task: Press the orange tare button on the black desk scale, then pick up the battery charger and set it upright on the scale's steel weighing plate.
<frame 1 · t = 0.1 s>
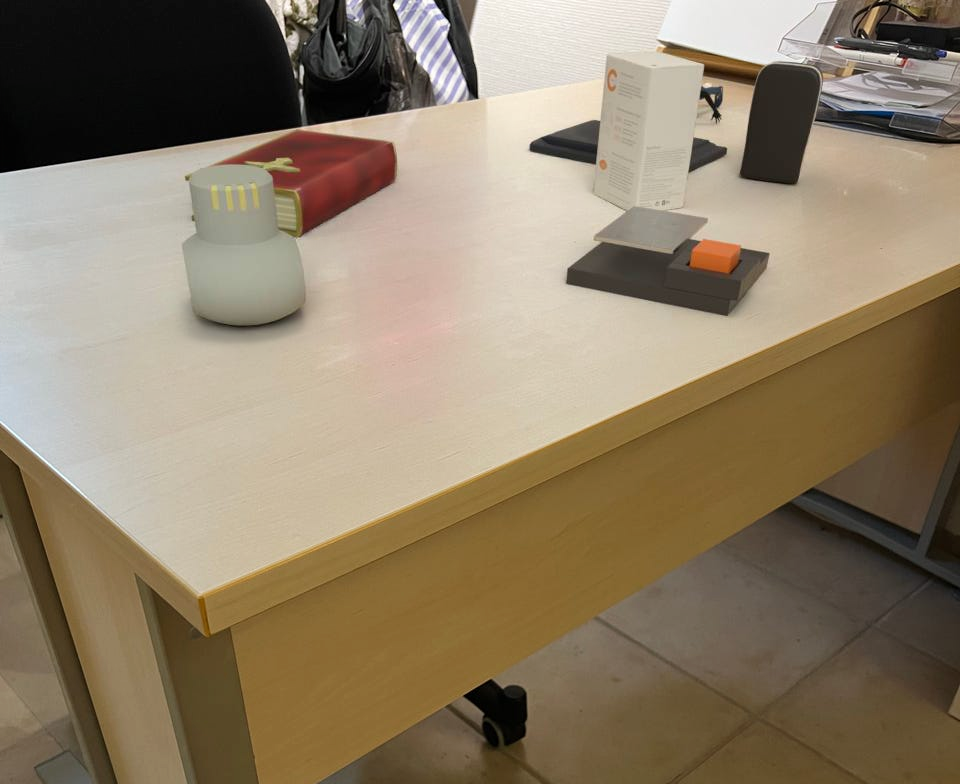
weighing plate: (652, 231, 82), resting on scale
hardcover book: (301, 201, 97), on the table
small box: (636, 203, 99), on the table
tare button: (715, 257, 76), point 3 cm above the table, slide at 0.1 cm
wallet: (627, 154, 115), on the table
battery charger: (769, 180, 108), on the table
air freshener: (249, 315, 73), on the table
scale: (668, 276, 82), on the table
person figurine: (686, 117, 131), on the table
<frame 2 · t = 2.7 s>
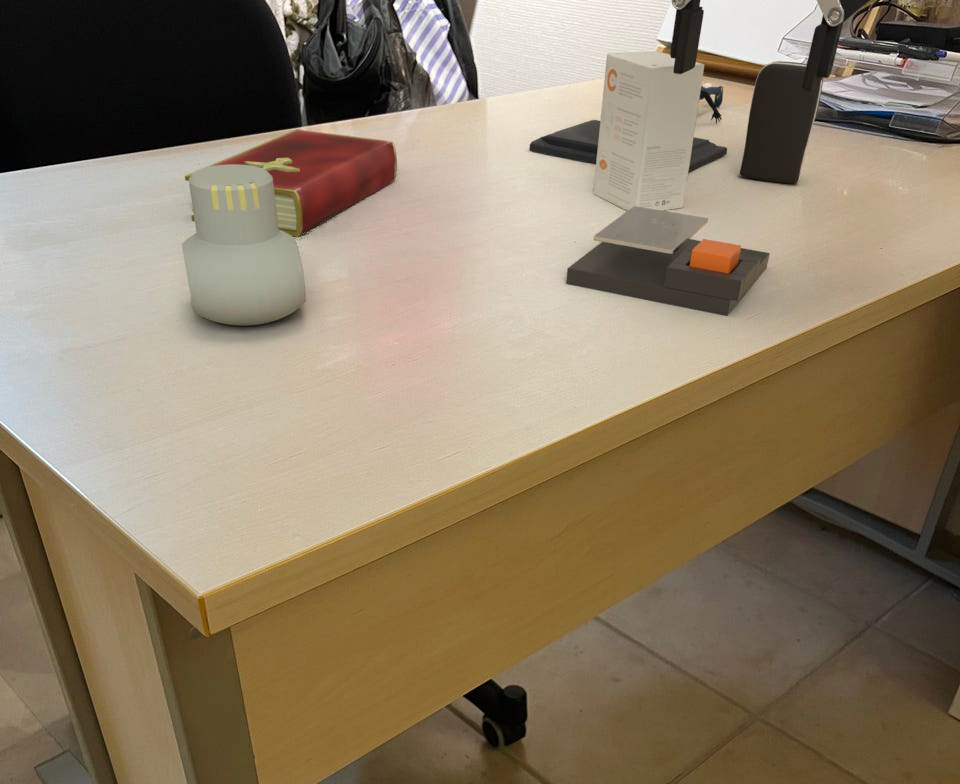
hand: (745, 79, 70), 16 cm above the table, tool pointing down, fingers open, 9 cm apart
nothing on the table moved.
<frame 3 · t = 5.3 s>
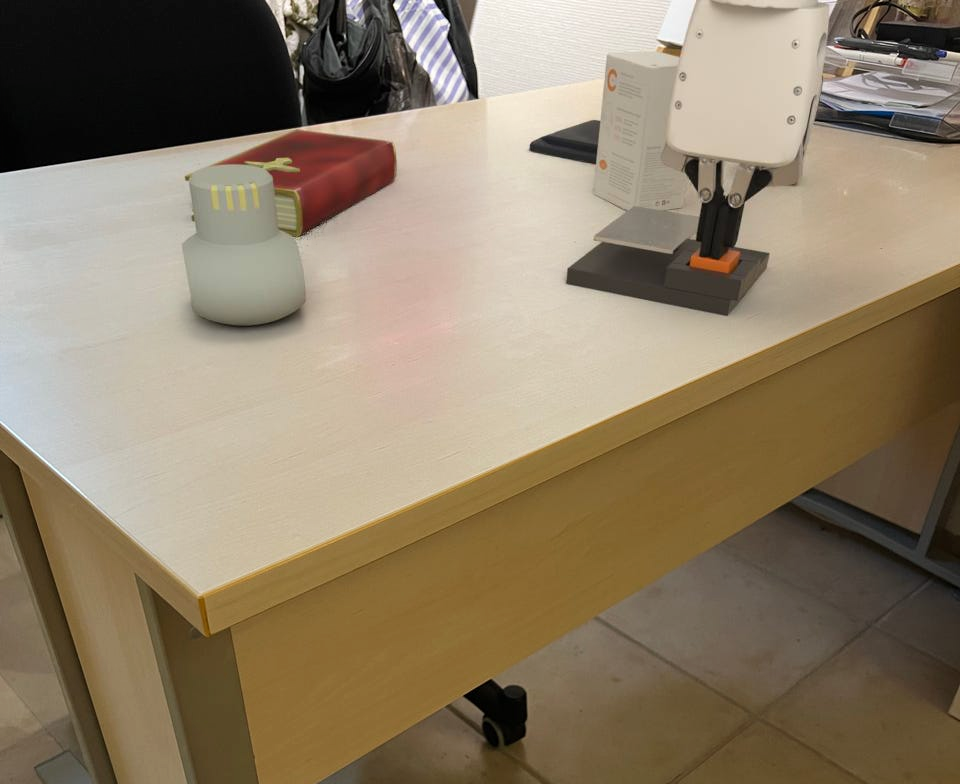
hand: (713, 253, 76), 4 cm above the table, tool pointing down, fingers closed
tare button: (714, 263, 76), point 3 cm above the table, slide at -0.4 cm, touching gripper
everything else where it was.
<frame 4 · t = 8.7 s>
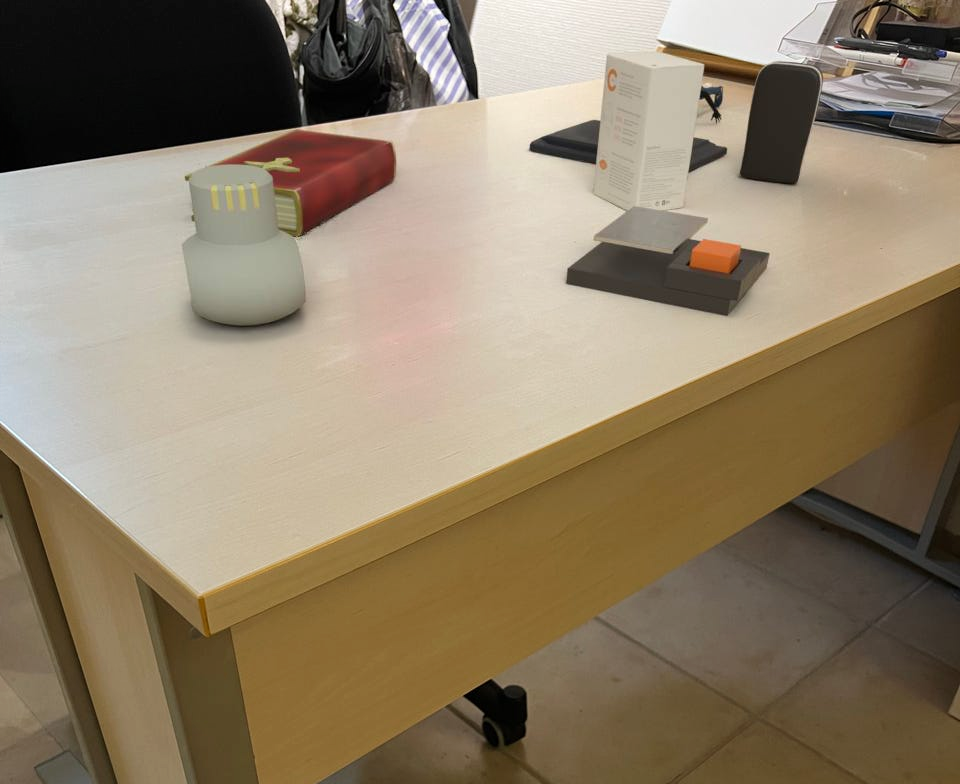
tare button: (715, 257, 76), point 3 cm above the table, slide at 0.1 cm
everything else where it was.
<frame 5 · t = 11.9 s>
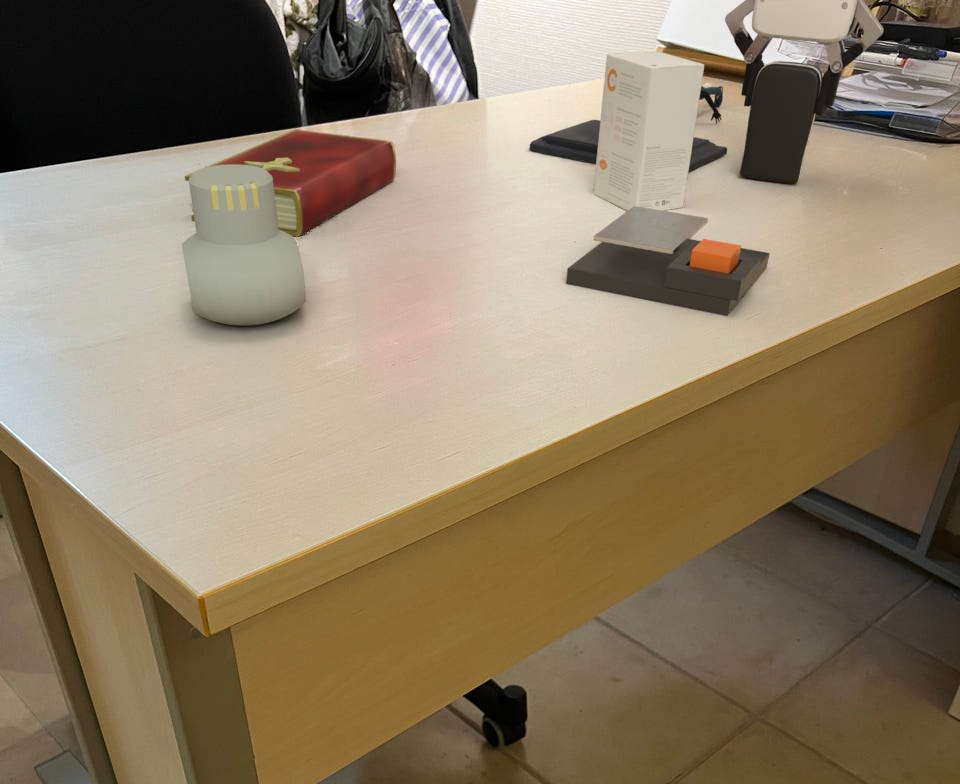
hand: (785, 107, 103), 7 cm above the table, tool pointing down, fingers closed on battery charger, 7 cm apart
battery charger: (769, 180, 108), on the table, touching gripper
everything else where it was.
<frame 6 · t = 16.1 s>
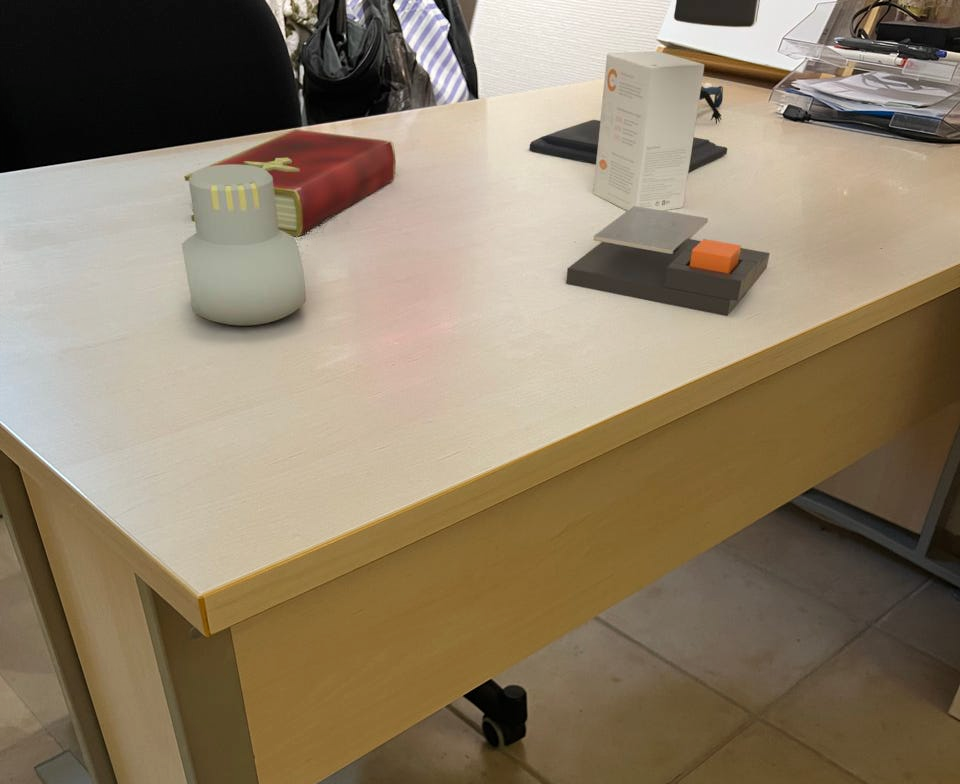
battery charger: (716, 26, 78), point 17 cm above the table, touching gripper
everything else where it was.
when the fingers open (11 cm above the table, at t = 20.5 s): battery charger stays where it is, resting on weighing plate.
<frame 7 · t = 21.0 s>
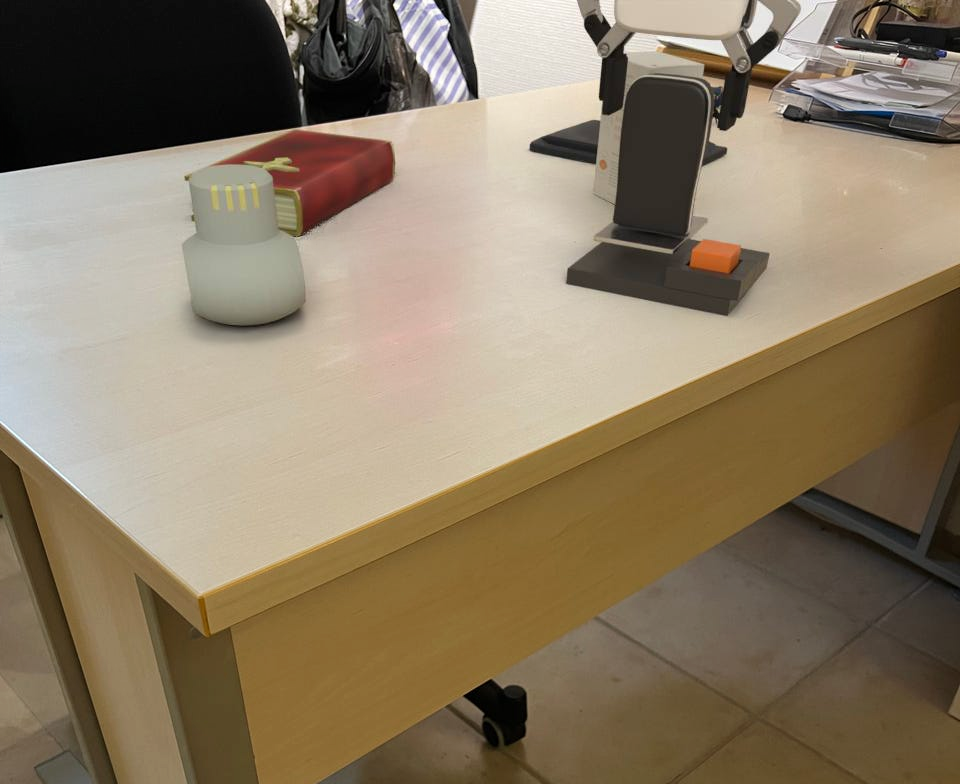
hand: (667, 119, 76), 12 cm above the table, tool pointing down, fingers open, 9 cm apart
battery charger: (653, 228, 82), point 3 cm above the table, touching weighing plate
everything else where it was.
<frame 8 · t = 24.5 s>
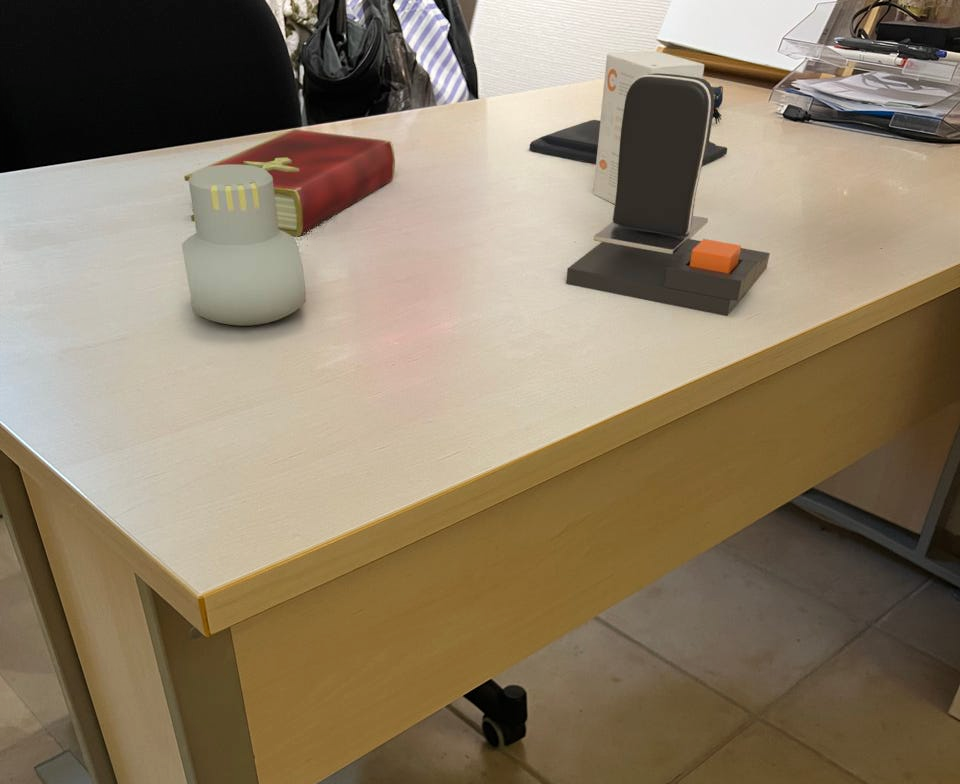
nothing on the table moved.
at the end: tare button pushed in 1.0 cm at the most during the clip, back to where it started at the end; tare button slide at 0.1 cm; battery charger inside the target area on the scale (0.1 cm from its centre), point 3.2 cm above the scale's base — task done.
